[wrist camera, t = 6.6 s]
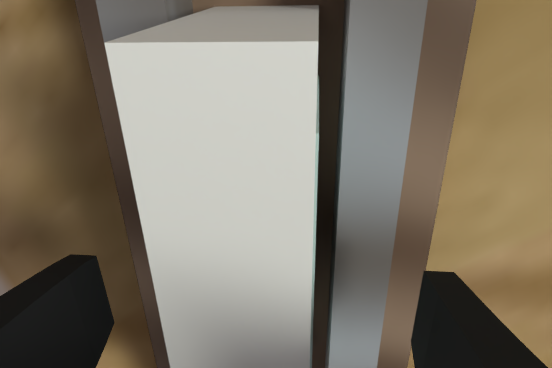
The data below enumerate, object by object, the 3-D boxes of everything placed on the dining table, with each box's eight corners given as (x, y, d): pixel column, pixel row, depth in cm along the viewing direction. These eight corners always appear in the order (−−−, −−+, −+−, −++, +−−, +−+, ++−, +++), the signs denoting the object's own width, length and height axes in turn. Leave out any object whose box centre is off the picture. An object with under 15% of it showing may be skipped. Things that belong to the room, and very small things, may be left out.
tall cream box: (311, 347, 16) (306, 542, 10) (241, 343, 16) (201, 531, 10) (320, 4, 10) (323, 41, 5) (213, 6, 10) (100, 42, 5)
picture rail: (389, 422, 19) (400, 496, 16) (177, 405, 20) (154, 473, 17) (502, -225, 9) (583, -313, 6) (53, -196, 10) (-49, -261, 7)
